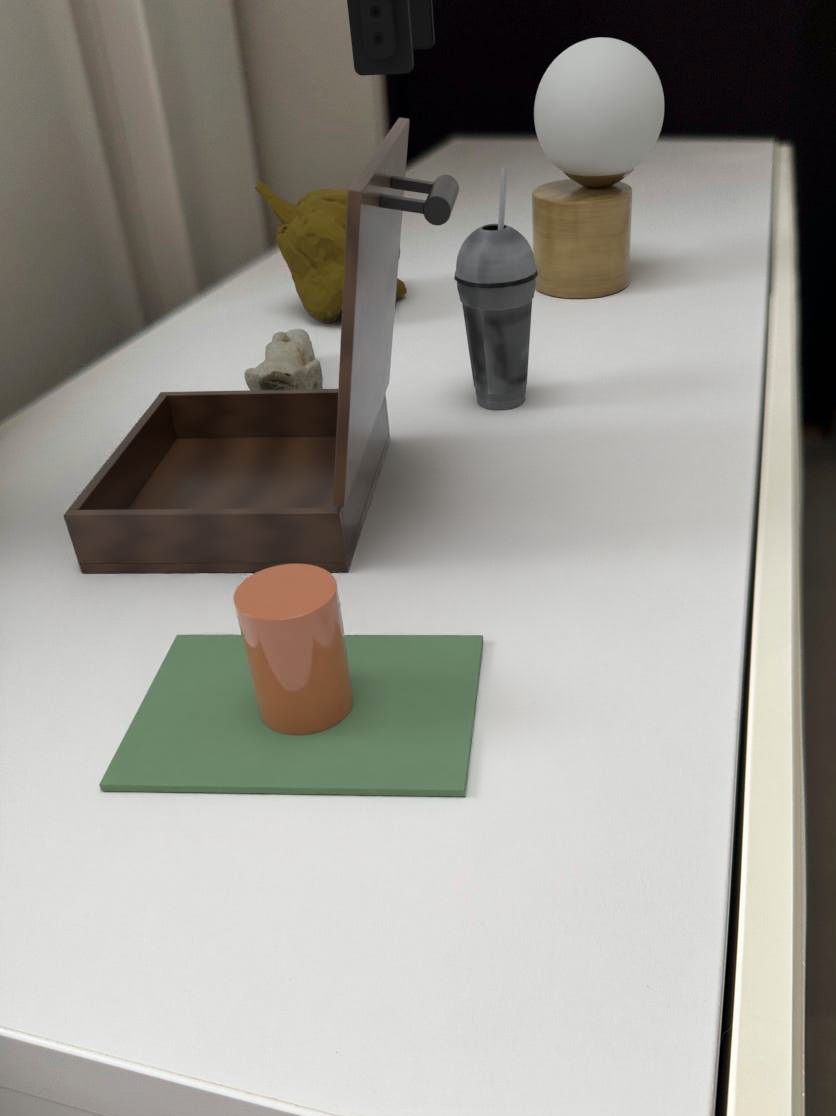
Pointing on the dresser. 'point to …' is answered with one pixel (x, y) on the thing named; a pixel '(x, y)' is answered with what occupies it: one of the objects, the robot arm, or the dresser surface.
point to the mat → (313, 759)
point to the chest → (226, 487)
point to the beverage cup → (497, 308)
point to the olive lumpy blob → (315, 247)
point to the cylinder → (295, 647)
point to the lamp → (591, 164)
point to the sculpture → (287, 364)
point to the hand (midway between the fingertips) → (397, 60)
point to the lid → (375, 290)
